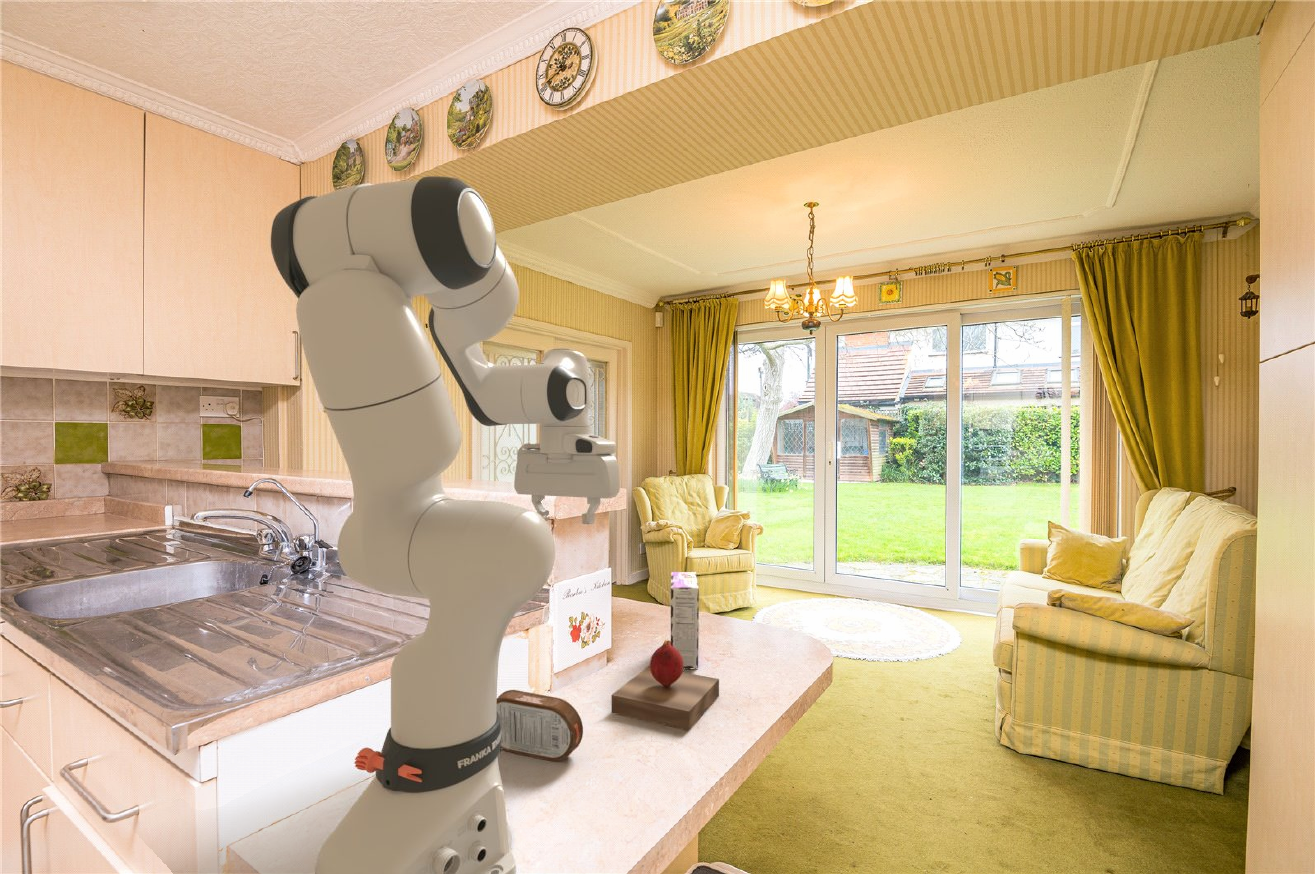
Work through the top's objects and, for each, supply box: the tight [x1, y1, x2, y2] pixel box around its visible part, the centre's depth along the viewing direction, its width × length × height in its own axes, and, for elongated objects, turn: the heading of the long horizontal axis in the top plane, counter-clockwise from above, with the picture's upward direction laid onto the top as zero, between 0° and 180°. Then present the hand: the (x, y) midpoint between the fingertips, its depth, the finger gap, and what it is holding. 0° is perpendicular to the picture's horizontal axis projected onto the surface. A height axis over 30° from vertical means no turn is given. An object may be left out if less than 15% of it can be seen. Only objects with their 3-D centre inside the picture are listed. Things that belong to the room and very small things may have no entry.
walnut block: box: [610, 665, 720, 731], centre depth 102 cm, size 14×14×3 cm
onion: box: [649, 639, 684, 687], centre depth 102 cm, size 6×6×8 cm
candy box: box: [669, 571, 700, 669], centre depth 125 cm, size 14×6×16 cm, turn 178°
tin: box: [497, 689, 584, 762], centre depth 86 cm, size 15×3×8 cm, turn 70°
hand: (565, 522), depth 104 cm, fingers open, 8 cm apart
